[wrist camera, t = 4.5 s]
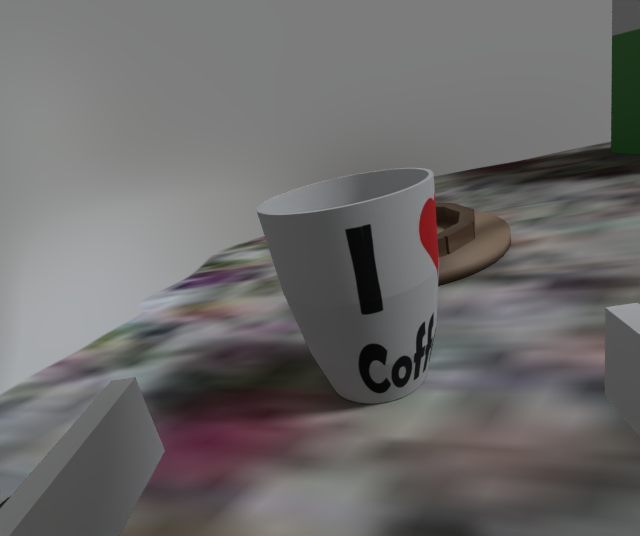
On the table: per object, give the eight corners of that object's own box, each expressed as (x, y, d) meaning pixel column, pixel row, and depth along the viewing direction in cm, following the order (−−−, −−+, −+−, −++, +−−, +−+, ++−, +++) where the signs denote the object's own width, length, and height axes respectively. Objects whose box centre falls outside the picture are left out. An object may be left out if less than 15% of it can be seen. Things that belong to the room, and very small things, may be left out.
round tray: (552, 222, 40) (551, 195, 39) (416, 317, 28) (411, 281, 28) (384, 215, 55) (381, 195, 54) (252, 275, 44) (245, 251, 43)
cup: (373, 453, 18) (324, 220, 15) (276, 381, 25) (227, 209, 21) (491, 363, 22) (472, 164, 19) (380, 322, 29) (353, 169, 26)
